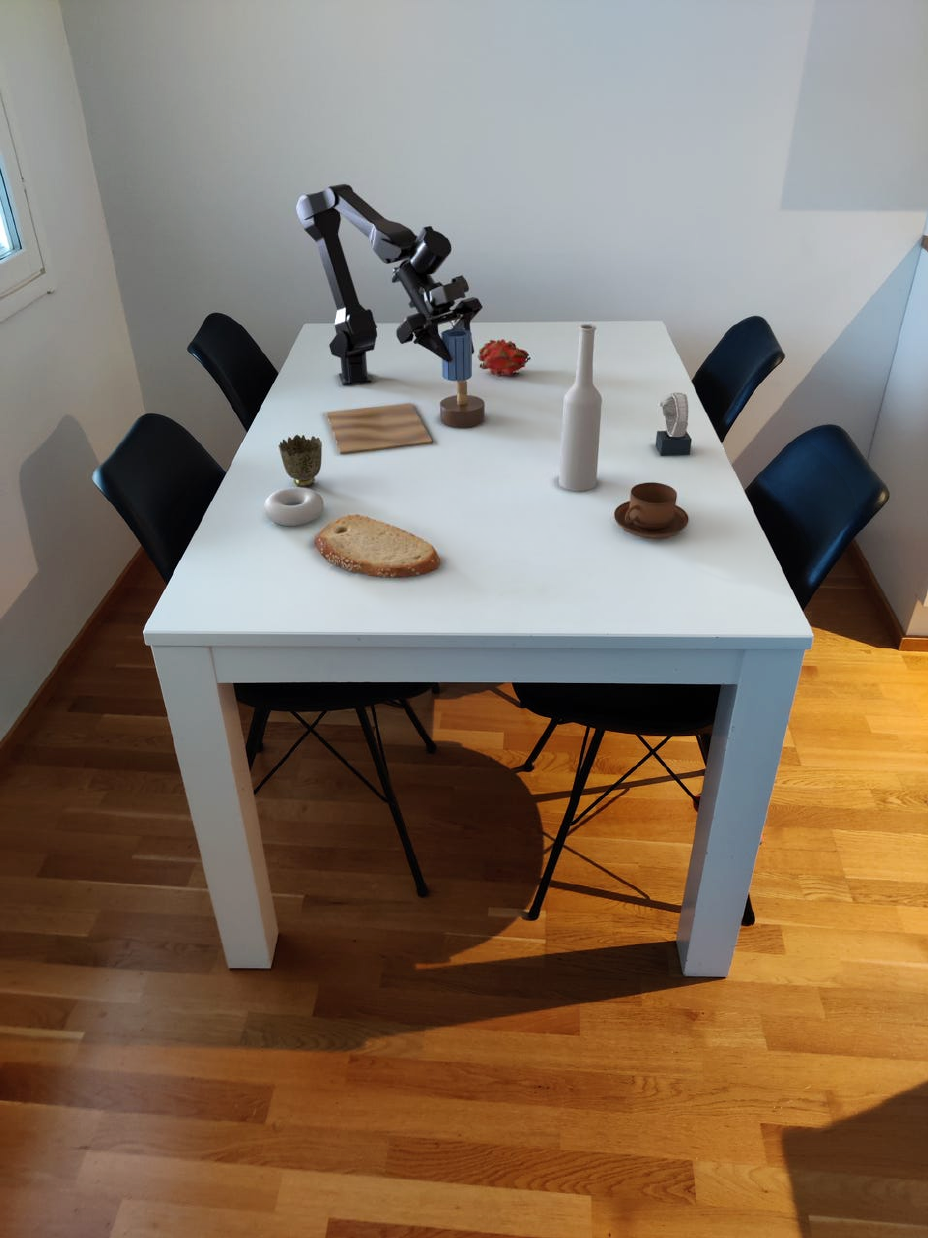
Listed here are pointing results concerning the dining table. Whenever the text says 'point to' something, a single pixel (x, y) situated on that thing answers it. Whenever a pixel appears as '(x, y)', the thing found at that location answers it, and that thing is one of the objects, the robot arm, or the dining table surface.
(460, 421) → the stand
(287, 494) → the donut
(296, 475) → the cup
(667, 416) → the watch
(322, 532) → the bread slice
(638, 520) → the cup and saucer
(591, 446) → the bottle
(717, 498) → the dining table surface
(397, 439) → the wooden board
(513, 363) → the dragon fruit
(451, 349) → the sleeve
